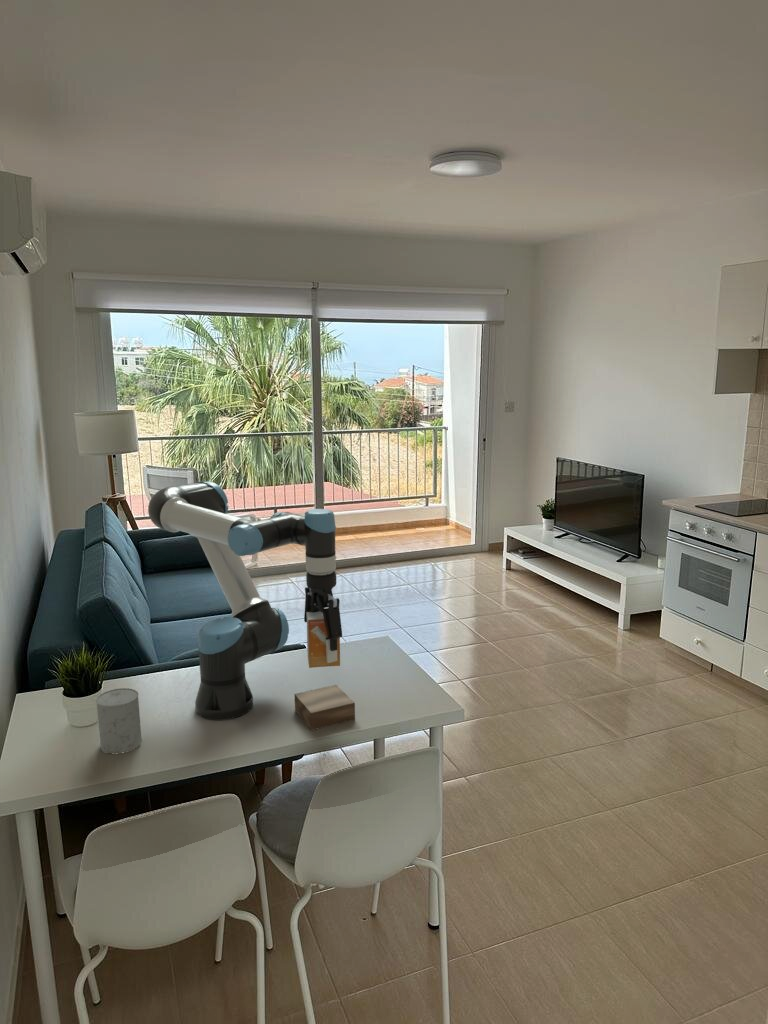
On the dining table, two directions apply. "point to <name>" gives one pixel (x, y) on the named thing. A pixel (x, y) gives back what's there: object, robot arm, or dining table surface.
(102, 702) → the grey marble cylinder
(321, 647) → the small box
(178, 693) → the dining table surface
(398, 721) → the dining table surface
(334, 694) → the walnut block
